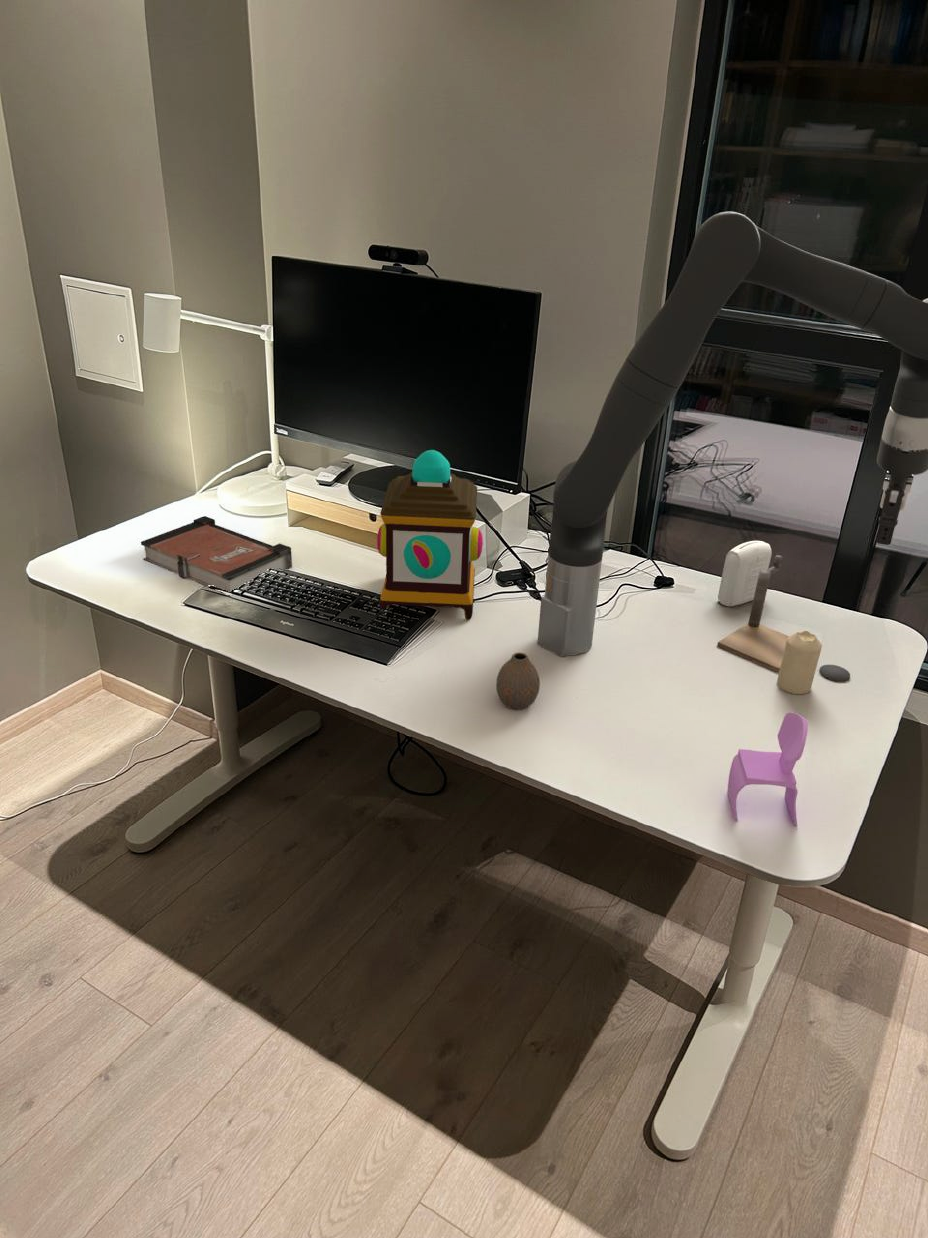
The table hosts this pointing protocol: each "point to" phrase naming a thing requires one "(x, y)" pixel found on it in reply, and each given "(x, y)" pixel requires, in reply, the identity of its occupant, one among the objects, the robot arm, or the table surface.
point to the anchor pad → (834, 673)
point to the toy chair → (771, 764)
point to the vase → (518, 682)
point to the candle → (799, 663)
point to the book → (214, 554)
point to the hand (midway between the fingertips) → (886, 530)
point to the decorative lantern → (429, 537)
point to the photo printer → (743, 572)
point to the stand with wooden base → (758, 630)
